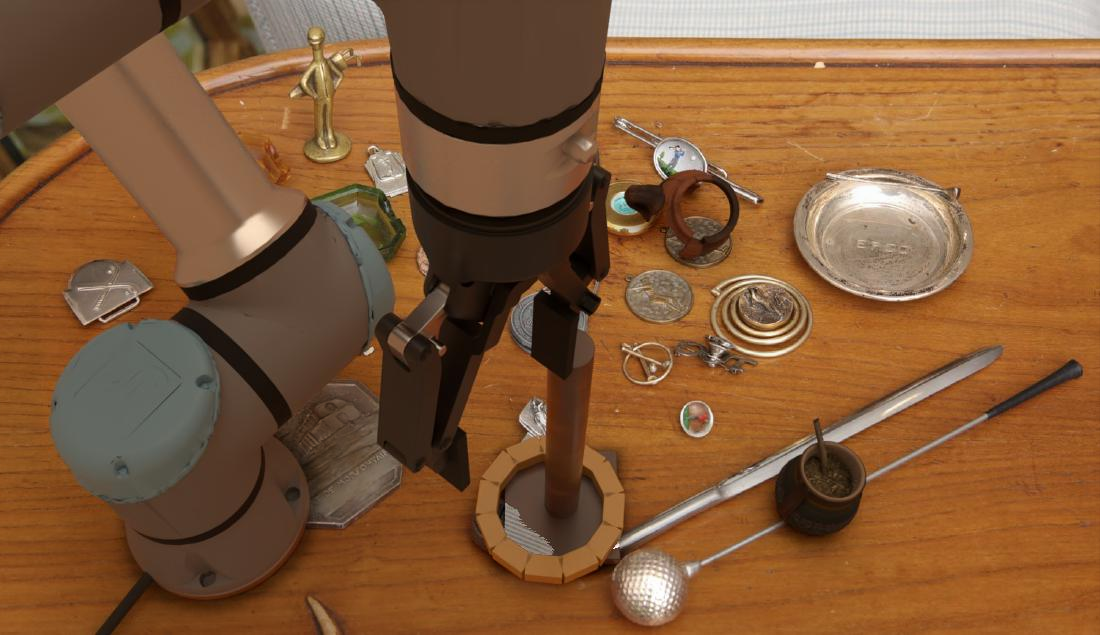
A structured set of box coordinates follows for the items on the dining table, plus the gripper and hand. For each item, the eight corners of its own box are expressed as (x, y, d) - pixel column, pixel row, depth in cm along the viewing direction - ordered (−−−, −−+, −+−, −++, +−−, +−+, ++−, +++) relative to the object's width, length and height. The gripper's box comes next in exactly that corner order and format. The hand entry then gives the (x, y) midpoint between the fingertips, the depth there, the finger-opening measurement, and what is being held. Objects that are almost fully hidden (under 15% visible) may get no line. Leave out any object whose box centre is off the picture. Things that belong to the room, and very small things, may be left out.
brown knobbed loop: (716, 187, 103) (750, 169, 95) (709, 270, 101) (744, 259, 94) (614, 169, 100) (641, 150, 92) (607, 255, 99) (633, 243, 91)
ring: (568, 613, 75) (568, 607, 74) (448, 526, 79) (446, 519, 77) (650, 495, 81) (652, 487, 79) (534, 419, 85) (534, 410, 83)
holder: (503, 563, 79) (488, 418, 55) (506, 455, 84) (495, 281, 61) (619, 564, 79) (654, 420, 55) (615, 457, 84) (646, 283, 61)
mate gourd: (802, 561, 79) (834, 520, 71) (749, 489, 83) (773, 443, 74) (866, 520, 81) (904, 476, 73) (811, 452, 85) (841, 402, 76)
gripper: (373, 392, 30) (424, 596, 49) (727, 56, 40) (656, 334, 59) (221, 273, 32) (325, 511, 51) (589, -17, 42) (563, 273, 61)
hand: (502, 416), depth 55 cm, fingers open, 9 cm apart
